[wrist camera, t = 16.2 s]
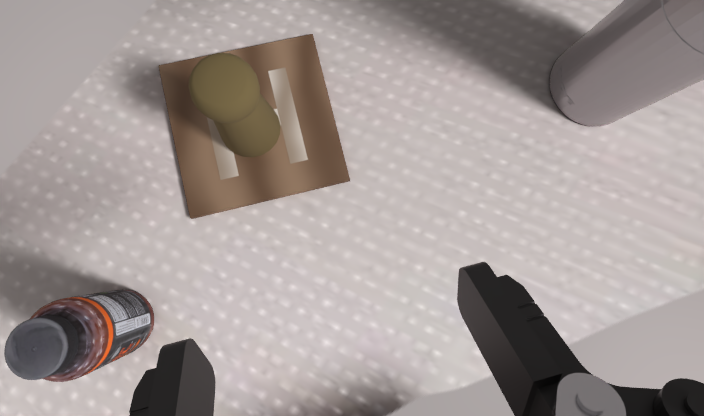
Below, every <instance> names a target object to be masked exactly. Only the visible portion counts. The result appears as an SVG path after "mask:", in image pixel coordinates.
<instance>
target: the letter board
mask: <svg viewBox="0 0 704 416" xmlns="http://www.w3.org/2000/svg"><path fill="white" fill-rule="evenodd" d="M222 53H230V54H233V55H236V56H238V57H240V58H242V59H243V60H244V61H245V62H247V63H248V64H249V65H250V66H251V67H252V69H253V70H254V72H255V73H256V75H257V78H258V82H259V85H260V94H261V95H262V96H263V97H264V99H265V100H266V101H267V102H268V103H269V105H270V106H271V107H272V108H273V109H274V111H275V112H276V114H277V115H278V118H279V121H280V125H281V126H280V135H279V138H278V140H277V143H276V144H275V145H274V146H273V148H272V149H271V150H269V151H268V152H266V153H265V154H263V155H260V156H256V157H243V156H240V155H237V154H235V153H233V152H232V151H231V150H230V149H228V148H227V147H226V145H225V144H224V142H223V140H222V138H221V136H220V134H219V132H218V130H217V128H216V125H215V123H214V121H213V120H212V119H209V118H208V117H206V116H205V115H204V114H202V113H201V112H200V111H199V110H198V109H197V107H196V106H195V104H194V103H193V101H192V99H191V95H190V91H189V77H190V75H191V72H192V70H193V68H194V67H195V66H196V65H197V63H198V62H199V61H200V60H201V59H203V58H205V57H207V56H203V57H198V58H193V59H188V60H183V61H179V62H174V63H169V64H164V65H159V71H160V75H161V80H162V85H163V90H164V95H165V99H166V104H167V109H168V114H169V119H170V124H171V128H172V133H173V138H174V143H175V148H176V152H177V157H178V162H179V167H180V172H181V176H182V181H183V186H184V191H185V196H186V200H187V205H188V210H189V215H190V218H191V219H194V218H198V217H202V216H206V215H210V214H214V213H219V212H223V211H227V210H231V209H235V208H239V207H244V206H248V205H252V204H256V203H260V202H265V201H269V200H273V199H277V198H281V197H285V196H290V195H294V194H298V193H302V192H306V191H310V190H315V189H319V188H323V187H327V186H331V185H335V184H340V183H344V182H348V181H350V178H349V174H348V170H347V166H346V162H345V159H344V155H343V151H342V147H341V143H340V139H339V135H338V131H337V127H336V123H335V120H334V116H333V112H332V108H331V104H330V100H329V96H328V92H327V88H326V84H325V81H324V77H323V73H322V69H321V65H320V61H319V57H318V53H317V49H316V45H315V41H314V38H313V34H310V35H305V36H300V37H295V38H290V39H285V40H281V41H276V42H271V43H266V44H261V45H256V46H251V47H247V48H242V49H237V50H232V51H227V52H222Z"/></svg>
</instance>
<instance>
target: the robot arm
mask: <svg viewBox="0 0 704 416" xmlns="http://www.w3.org/2000/svg"><path fill="white" fill-rule="evenodd" d="M702 80H704V0H624V1H623V2H622V3H621V4H619V5H618V6H617V7H616V8H615V9H614V10H613V11H611V12H610V13H609V14H608V15H607V16H606V17H605V18H603V19H602V20H601V21H600V22H599V23H598V24H596V25H595V26H594V27H593V28H592V29H591V30H590V31H588V32H587V33H586V34H585V35H584V36H583V37H581V38H580V39H579V40H578V41H577V42H576V43H574V44H573V45H572V46H571V47H570V48H569V49H568V50H566V51H565V52H564V53H563V54H562V55H561V56H560V57H559V58H558V59H557V61H556V62H555V64H554V66H553V68H552V70H551V75H550V89H551V94H552V97H553V99H554V101H555V103H556V105H557V106H558V107H559V109H560V110H561V111H562V112H563V113H564V114H565V115H566V116H567V117H568V118H570V119H572V120H573V121H575V122H577V123H580V124H582V125H587V126H603V125H607V124H610V123H612V122H614V121H616V120H618V119H621V118H623V117H625V116H627V115H629V114H631V113H633V112H636V111H638V110H640V109H642V108H644V107H647V106H649V105H651V104H653V103H655V102H657V101H659V100H661V99H663V98H666V97H668V96H670V95H672V94H674V93H676V92H678V91H680V90H683V89H685V88H687V87H689V86H691V85H693V84H695V83H697V82H699V81H702ZM457 300H458V306H459V309H460V312H461V315H462V317H463V319H464V321H465V323H466V325H467V327H468V329H469V331H470V332H471V334H472V336H473V338H474V340H475V342H476V344H477V346H478V348H479V349H480V351H481V353H482V355H483V357H484V359H485V361H486V363H487V364H488V366H489V368H490V370H491V372H492V374H493V376H494V377H495V379H496V381H497V383H498V385H499V387H500V389H501V391H502V393H503V394H504V396H505V398H506V400H507V402H508V404H509V406H510V407H511V409H512V411H513V413H514V415H515V416H704V384H703V383H701V382H698V381H695V380H690V379H674V380H671V381H669V382H668V383H666V385H665V386H664V387H663V388H662V389H647V388H630V387H619V386H615V385H612V384H609V383H606V382H605V381H603V380H602V379H600V378H598V377H596V376H593V375H592V374H591V373H589V372H588V371H587V370H586V369H585V368H584V367H583V366H582V365H581V363H580V362H579V361H578V359H577V358H576V357H575V355H574V354H573V353H572V351H571V350H570V349H569V347H568V346H567V345H566V343H565V342H564V341H563V339H562V338H561V337H560V335H559V334H558V332H557V331H556V330H555V328H554V327H553V326H552V324H551V323H550V322H549V320H548V319H547V318H546V317H545V316H544V314H543V312H542V311H541V309H540V308H539V307H538V305H537V304H535V303H534V300H533V299H532V297H531V296H530V295H529V293H528V292H527V291H526V289H525V288H524V286H522V285H521V284H520V283H518V282H517V281H515V280H514V279H512V278H511V277H510V276H508V275H504V276H500V277H496V275H495V274H494V272H493V271H492V269H491V268H490V266H489V265H488V264H487V263H486V262H481V263H477V264H473V265H470V266H466V267H462V268H460V269H459V279H458V296H457ZM214 398H215V375H214V371H213V368H212V365H211V364H210V362H209V361H208V359H207V358H206V357H205V355H204V354H203V352H202V351H201V349H200V348H199V347H198V345H197V344H196V342H195V341H194V340H193V339H191V338H190V339H186V340H182V341H179V342H175V343H171V344H167V345H164V346H163V347H162V348H161V350H160V353H159V358H158V363H157V368H154V369H151V370H147V371H146V372H145V374H144V375H143V377H142V379H141V380H140V382H139V384H138V386H137V387H136V389H135V391H134V394H133V399H132V403H131V407H130V411H129V412H130V416H213V412H214Z"/></svg>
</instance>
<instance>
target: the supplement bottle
mask: <svg viewBox="0 0 704 416" xmlns="http://www.w3.org/2000/svg"><path fill="white" fill-rule="evenodd" d="M153 325H154V313H153V310H152V307H151V305H150V303H149V302H148V301H147V299H146V298H145V297H143V296H142V295H141V294H139V293H137V292H134V291H130V290H115V291H108V292H102V293H95V294H89V295H83V296H77V297H71V298H65V299H60V300H57V301H54V302H51V303H49V304H47V305H45V306H43V307H42V308H40V309H39V310H38V311H37V312H36V313H35V314H34V315H33V316H32V317H31V318H30V319H29V320H27V321H25V322H23V323H21V324H20V325H18V326H17V327H16V328H15V329H14V330H13V331H12V332H11V334H10V336H9V337H8V339H7V341H6V345H5V360H6V363H7V365H8V367H9V368H10V370H11V371H12V372H13V373H14V374H16V375H17V376H19V377H21V378H23V379H27V380H37V379H45V380H49V381H54V382H64V381H69V380H73V379H76V378H79V377H81V376H84V375H86V374H88V373H90V372H92V371H94V370H96V369H98V368H101V367H102V366H104V365H106V364H108V363H110V362H113V361H115V360H117V359H119V358H121V357H123V356H125V355H127V354H129V353H132V352H133V351H135V350H136V349H137V348H139V347H140V346H141V345H142V344H143V343H144V342H145V341H146V340H147V339H148V337H149V336H150V334H151V332H152V330H153Z"/></svg>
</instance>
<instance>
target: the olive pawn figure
mask: <svg viewBox="0 0 704 416" xmlns="http://www.w3.org/2000/svg"><path fill="white" fill-rule="evenodd" d="M189 91H190V95H191V99H192V101H193V103H194V104H195V106H196V107H197V109H198V110H199V111H200V112H201V113H202V114H204V115H205V116H206V117H208V118H209V119H212V120H213V121H214V123H215V125H216V128H217V130H218V132H219V134H220V136H221V138H222V140H223V142H224V144H225V145H226V147H227V148H228V149H230V150H231V151H232V152H233V153H235V154H237V155H240V156H243V157H256V156H260V155H263V154H265V153H266V152H268V151H269V150H271V149H272V148H273V146H274V145H275V144H276V143H277V140H278V138H279V135H280V126H281V125H280V121H279V118H278V115H277V114H276V112H275V111H274V109H273V108H272V107H271V106H270V105H269V103H268V102H267V101H266V100H265V99H264V97H263V96H262V95H261V94H260V85H259V82H258V78H257V75H256V73H255V72H254V70H253V69H252V67H251V66H250V65H249V64H248V63H247V62H245V61H244V60H243V59H242V58H240V57H238V56H236V55H233V54H230V53H216V54H212V55H208V56H207V57H205V58H203V59H201V60H200V61H199V62H198V63H197V65H196V66H195V67H194V68H193V70H192V72H191V75H190V77H189Z"/></svg>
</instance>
